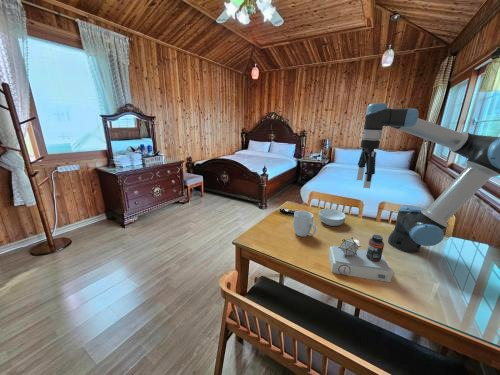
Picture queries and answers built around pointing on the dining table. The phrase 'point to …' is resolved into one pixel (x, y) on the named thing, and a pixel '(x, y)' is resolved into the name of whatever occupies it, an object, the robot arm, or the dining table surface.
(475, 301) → the dining table surface
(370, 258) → the supplement bottle
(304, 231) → the mug
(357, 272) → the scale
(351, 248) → the game die
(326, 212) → the cereal bowl
